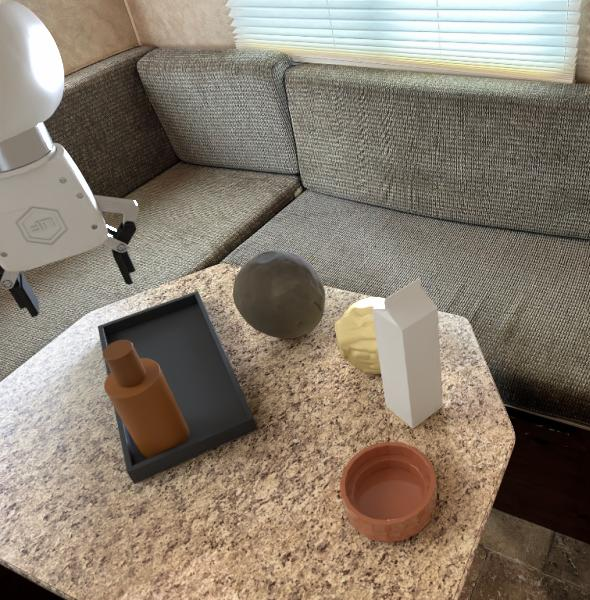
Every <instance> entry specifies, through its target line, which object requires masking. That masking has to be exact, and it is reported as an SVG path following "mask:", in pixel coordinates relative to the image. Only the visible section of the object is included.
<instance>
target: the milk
mask: <svg viewBox="0 0 590 600" xmlns="http://www.w3.org/2000/svg"><path fill="white" fill-rule="evenodd" d="M372 313H373V320H374V327H375V334H376V341H377V348H378V355H379V361H380V368H381V373H380V375H381V382H382V388H383V389H382V390H383V395H384V403H385V407H386V408H387V409H389V411H391V412H392V414H394V415H395V416H397V418H399V419H400V420H401V421H402V422H404V423H405V424H406V425H407V426H408V427H409V428H410V429H412V430H414V429H415V428H416V427H418V426H419V425H420V424H422V423H423V422H424V421H426V420H427V419H429V418H430V417H432V415H434V414H435V413H436V412H438V411H439V410H441V408H443V406H444V400H443V384H442V365H441V348H440V346H441V345H440V344H441V343H440V328H439V311H438V306H437V304H435V303H434V302H433V300H432V299H431V297H430V296H429V295H428V294H427V293H426V291H425V290H424V289H423V287H422V280H421V278H417V279H415V280H414V281H412V282H411V283H409V284H407V285H405V286H404V287H402V288H401V289H399V290H397V291H395V292H393V293H392V294H391V295H389V296H387V297H385V300H384V302H382V303H381V304H379V305H378V306H376V307H374V308H373V309H372Z"/></svg>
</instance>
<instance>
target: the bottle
mask: <svg viewBox="0 0 590 600" xmlns="http://www.w3.org/2000/svg"><path fill="white" fill-rule="evenodd" d="M102 357H103V360H104V359H105V360H104V362H105V361H106V363H107V365H108V366H109V368H110V370H111V373H110V374H109V375H107V377H106V378H105V380H104V384H103V388H104V391H105V393H106V395H107V397H108V399H109V400H110V402H111V403H112V405H113V408H114V407H115V409H116V411H117V412H118V414H119V416H120V418H121V419H122V421H123V423H124V425H125V426H126V428H127V430H128V431H129V433H130V435H131V437H132V438H133V440H134V442H135V444H136V445H137V447H138V449H139V451H140V452H141V454H142V455H143V456H144V457H145V458H147V459H150V458H152V457H154V456H157V455H159V454H161V453H164V452H166V451H168V450H171V449H173V448H175V447H177V446H180V445H182V444H184V443H187V442H188V440H189V436H190V431H189V428H188V426H187V424H186V422H185V419H184V417H183V415H182V413H181V411H180V409H179V407H178V405H177V403H176V400H175V398H174V396H173V394H172V392H171V390H170V388H169V386H168V384H167V382H166V379H165V377H164V375H163V373H162V371H161V369H160V367H159V365H158V364H157V363H156V362H155V361H153V360H151V359H146V358H139V356H138V354H137V352H136V350H135V348H134V346H133V344H132V343H131V342H130V341H128V340H119V341H115V342H113V343H111V344H110V345H108V346H107V347H106V348H105V349H104V351H102Z"/></svg>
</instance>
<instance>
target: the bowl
mask: <svg viewBox="0 0 590 600" xmlns="http://www.w3.org/2000/svg"><path fill="white" fill-rule="evenodd" d="M340 477H341V478H340V482H339V487H340V488H339V489H340V496H341V501H342V505H343V508H344V512H345V515H346V517H347V519H348V521H349V523H350V526H351V527H352V528H353V529H355V530H356V531H357V532H358V533H359V534H360V535H362V536H363V537H365V538H368V539H369V540H372V541H376V542H384V543H394V542H399V541H404V540H407V539H410V538H411V537H413V536H415V535H416V534H418V533H420V532H421V531H422V530H423V529H424V528H425V527H426V525H428V524H429V523H430V521H431V520H432V518H433V516H434V514H435V511H436V509H437V501H438V489H437V475H436V473H435V470H434V466H433V464H432V462H431V461H430V460H429V458H428V457H427V454H425V453H424V452H423V451H422V450H419V448H417V447H415V446H414V445H411V444H407V443H405V442H401V441H383V442H377V443H373V444H371V445H369V446H367V447H365V448H363V449H361V450H360V451H359V452H357V453H356V454H355V455H354V456H353V457H351V458H350V459H349V461H348V462H347V464H346V465H345V467H344V469H343V470H342V474H341V476H340Z"/></svg>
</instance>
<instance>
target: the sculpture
mask: <svg viewBox="0 0 590 600" xmlns="http://www.w3.org/2000/svg"><path fill="white" fill-rule="evenodd" d="M385 299H386V297H385V298H384V297H380V296H379V297H375V296H372V297H367V298H362V299H360V300H357V301H356V302H354V303H352V304H351V305H350V306H349V307H348V308H347V309H346V310H345V312H343V314H342V316H341V318H339V319H338V320H337V321H336V322H335V323H334V333H335V335H336V344H337V348H338V350H339V354H340V357H341V358H342V360H345V361H347V362H348V364H350V365H351V366H352V367H353V368H356V369H357V370H358V371H361V372H364V373H365V374H373V375H379V374H380V375H381V368H380V361H379V355H378V348H377V341H376V334H375V327H374V320H373V313H372V309H373V308H374V307H376V306H378V305H379V304H381V303H382V302H384V300H385Z"/></svg>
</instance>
